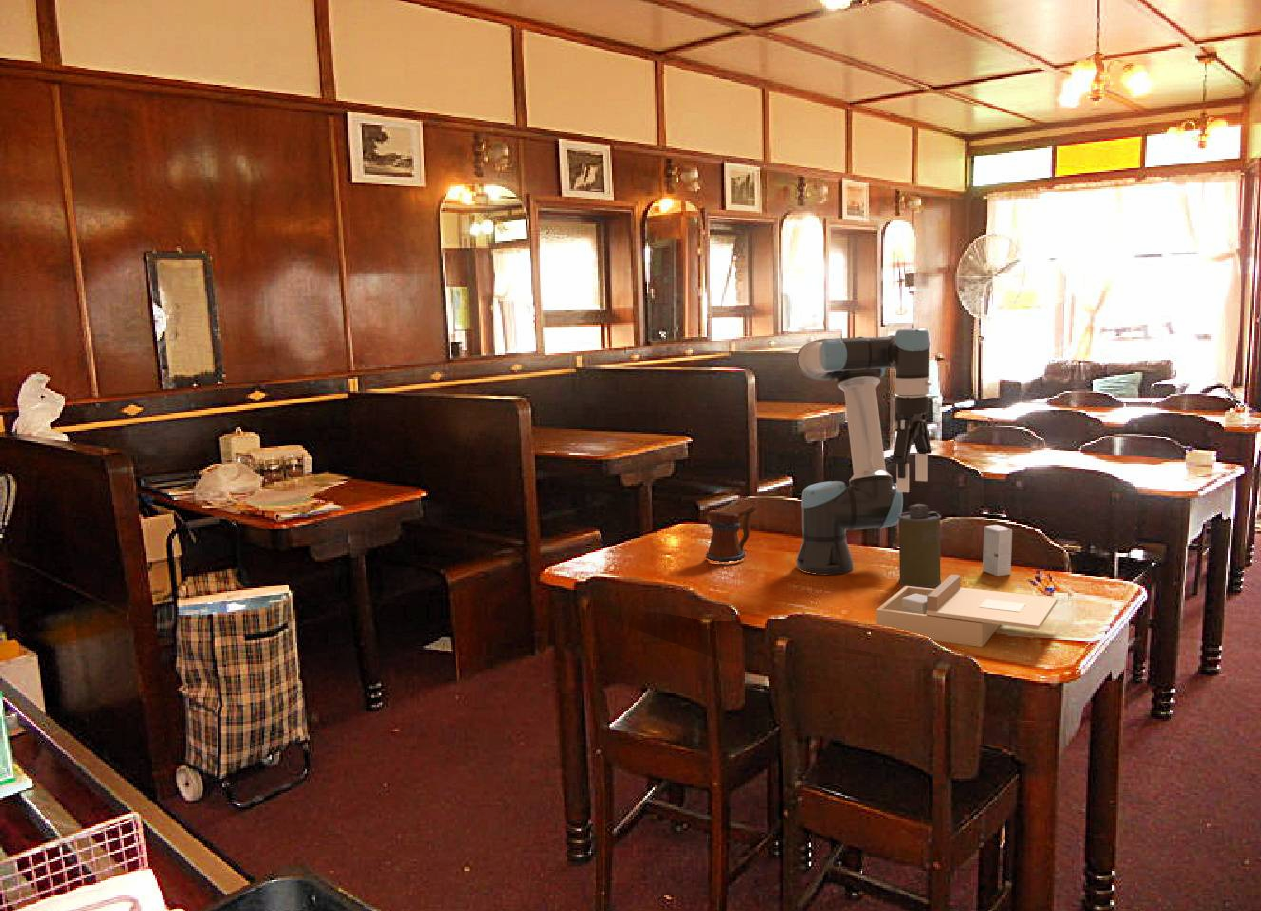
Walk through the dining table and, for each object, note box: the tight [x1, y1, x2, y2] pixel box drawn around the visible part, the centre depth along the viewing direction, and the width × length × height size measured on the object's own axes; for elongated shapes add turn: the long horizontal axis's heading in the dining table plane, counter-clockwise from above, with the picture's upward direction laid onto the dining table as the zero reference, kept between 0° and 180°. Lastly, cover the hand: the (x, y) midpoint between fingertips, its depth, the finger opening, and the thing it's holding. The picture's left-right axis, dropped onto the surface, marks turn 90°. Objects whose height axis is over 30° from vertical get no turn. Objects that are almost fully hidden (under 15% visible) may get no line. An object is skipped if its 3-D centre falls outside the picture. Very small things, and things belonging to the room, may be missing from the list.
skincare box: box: [982, 524, 1013, 577], centre depth 241 cm, size 6×4×12 cm
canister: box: [898, 503, 942, 589], centre depth 235 cm, size 11×10×20 cm
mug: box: [705, 504, 757, 562], centre depth 269 cm, size 18×12×15 cm, turn 128°
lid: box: [926, 574, 1059, 630], centre depth 197 cm, size 22×20×4 cm
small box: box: [901, 594, 927, 615], centre depth 206 cm, size 6×6×5 cm
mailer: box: [875, 586, 1001, 648], centre depth 203 cm, size 22×20×5 cm
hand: (912, 486), depth 218 cm, fingers open, 13 cm apart
